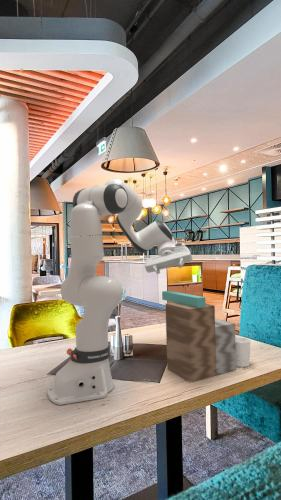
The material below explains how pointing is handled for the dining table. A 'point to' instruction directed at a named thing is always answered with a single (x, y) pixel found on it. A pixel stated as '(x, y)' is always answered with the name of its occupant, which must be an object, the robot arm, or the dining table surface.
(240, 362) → the white cup
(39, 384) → the dining table surface
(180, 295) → the teal bar
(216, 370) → the stand
